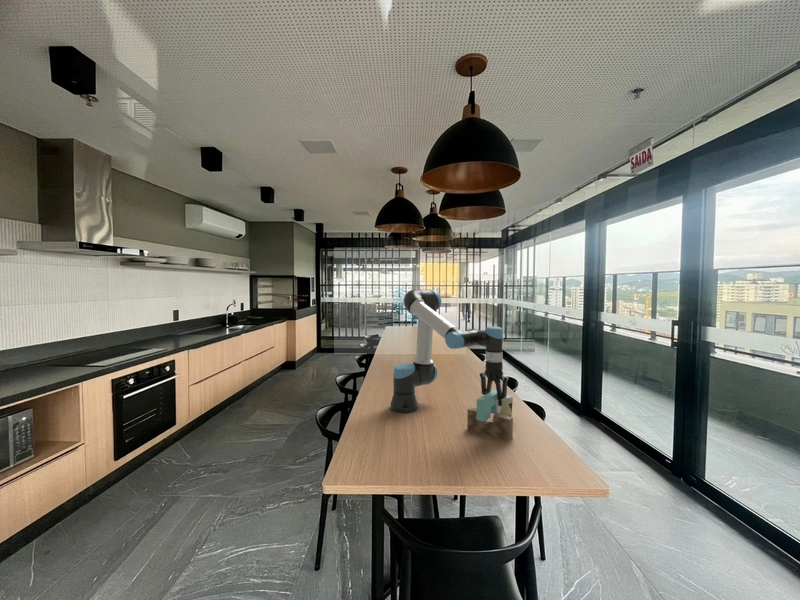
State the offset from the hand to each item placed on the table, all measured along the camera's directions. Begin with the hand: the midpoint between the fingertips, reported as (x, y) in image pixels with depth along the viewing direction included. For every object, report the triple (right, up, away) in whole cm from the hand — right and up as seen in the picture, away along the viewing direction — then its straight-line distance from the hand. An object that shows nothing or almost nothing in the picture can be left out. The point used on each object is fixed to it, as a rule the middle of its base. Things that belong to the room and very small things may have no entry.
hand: (493, 411), depth 156 cm
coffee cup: (+8, -8, +13) cm, 18 cm away
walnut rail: (-3, -9, -3) cm, 10 cm away
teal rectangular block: (-3, 0, -3) cm, 5 cm away
